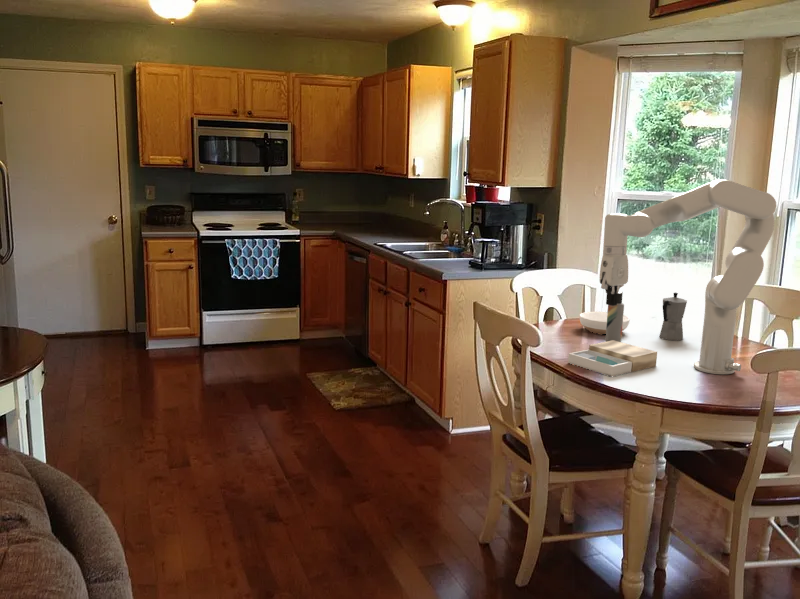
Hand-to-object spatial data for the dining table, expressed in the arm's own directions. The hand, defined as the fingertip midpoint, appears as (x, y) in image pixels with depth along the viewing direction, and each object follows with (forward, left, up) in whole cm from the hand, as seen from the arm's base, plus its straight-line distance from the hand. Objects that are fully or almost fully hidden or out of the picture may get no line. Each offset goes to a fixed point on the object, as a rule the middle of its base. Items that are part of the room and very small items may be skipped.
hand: (611, 304), depth 248 cm
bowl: (+29, -35, -20) cm, 49 cm away
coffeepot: (+8, -49, -20) cm, 53 cm away
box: (-4, +9, -20) cm, 22 cm away
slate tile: (+1, +11, -17) cm, 20 cm away
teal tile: (-8, +10, -16) cm, 20 cm away
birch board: (-4, -3, -20) cm, 20 cm away
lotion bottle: (+15, -23, -20) cm, 34 cm away
